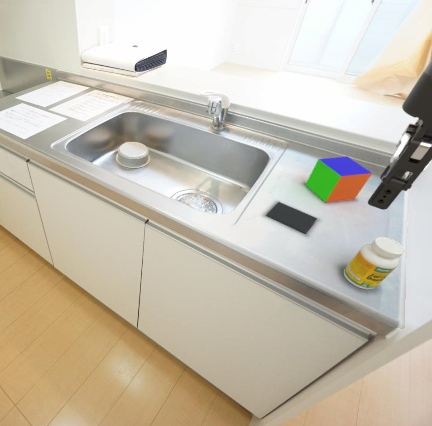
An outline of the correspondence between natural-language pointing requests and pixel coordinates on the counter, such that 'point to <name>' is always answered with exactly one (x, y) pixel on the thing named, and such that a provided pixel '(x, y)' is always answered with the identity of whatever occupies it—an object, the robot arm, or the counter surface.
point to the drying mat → (291, 217)
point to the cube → (337, 179)
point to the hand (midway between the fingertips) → (382, 192)
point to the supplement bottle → (374, 263)
